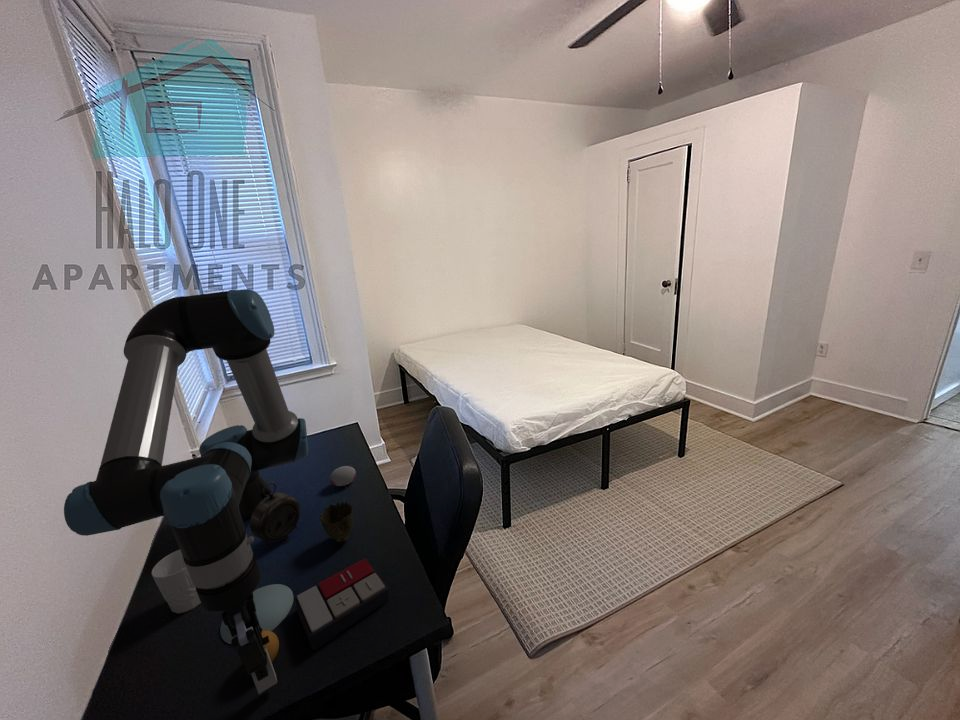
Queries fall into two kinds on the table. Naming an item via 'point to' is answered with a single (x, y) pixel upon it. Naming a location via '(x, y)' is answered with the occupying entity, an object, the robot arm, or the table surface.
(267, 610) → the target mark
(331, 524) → the dark brown rounded lump
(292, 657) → the table surface
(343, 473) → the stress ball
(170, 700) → the table surface
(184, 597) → the white cup
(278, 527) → the alarm clock
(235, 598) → the robot arm
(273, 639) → the ball
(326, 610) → the calculator
